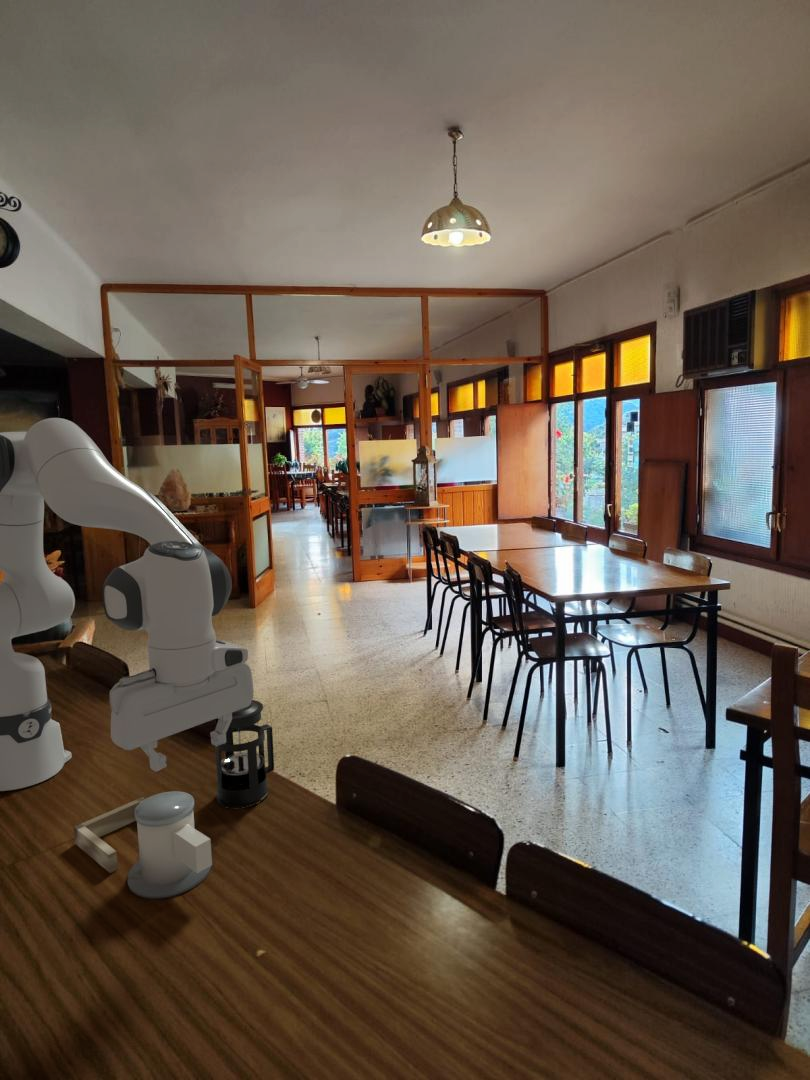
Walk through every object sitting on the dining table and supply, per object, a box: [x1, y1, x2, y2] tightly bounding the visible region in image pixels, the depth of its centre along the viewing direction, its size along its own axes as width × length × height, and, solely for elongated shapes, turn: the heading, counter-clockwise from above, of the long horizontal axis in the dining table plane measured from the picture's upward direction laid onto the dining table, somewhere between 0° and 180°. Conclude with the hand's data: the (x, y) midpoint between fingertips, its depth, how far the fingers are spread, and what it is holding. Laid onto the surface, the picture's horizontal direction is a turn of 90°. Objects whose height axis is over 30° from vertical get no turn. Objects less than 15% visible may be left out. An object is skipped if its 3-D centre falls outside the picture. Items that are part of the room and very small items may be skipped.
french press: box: [214, 699, 275, 809], centre depth 121 cm, size 12×9×23 cm
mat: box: [127, 859, 213, 900], centre depth 100 cm, size 12×12×1 cm
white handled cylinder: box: [135, 790, 213, 884], centre depth 98 cm, size 14×8×10 cm, turn 50°
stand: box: [73, 796, 146, 874], centre depth 108 cm, size 12×12×3 cm
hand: (189, 755), depth 92 cm, fingers open, 8 cm apart
